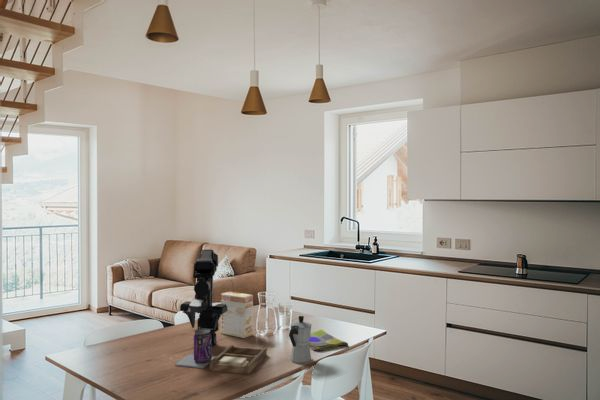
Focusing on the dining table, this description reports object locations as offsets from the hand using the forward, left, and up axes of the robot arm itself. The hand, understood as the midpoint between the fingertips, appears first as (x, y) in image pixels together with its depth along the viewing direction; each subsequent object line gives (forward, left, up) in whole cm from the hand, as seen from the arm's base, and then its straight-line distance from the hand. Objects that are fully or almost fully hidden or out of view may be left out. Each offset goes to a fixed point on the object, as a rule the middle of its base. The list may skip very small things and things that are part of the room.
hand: (203, 328), depth 193 cm
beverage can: (+1, -3, -12) cm, 13 cm away
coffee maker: (+38, +9, -13) cm, 41 cm away
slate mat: (-2, -3, -13) cm, 13 cm away
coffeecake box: (0, +37, -13) cm, 39 cm away
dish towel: (+42, +36, -14) cm, 57 cm away
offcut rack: (+15, +1, -13) cm, 20 cm away
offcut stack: (+15, -5, -13) cm, 21 cm away
